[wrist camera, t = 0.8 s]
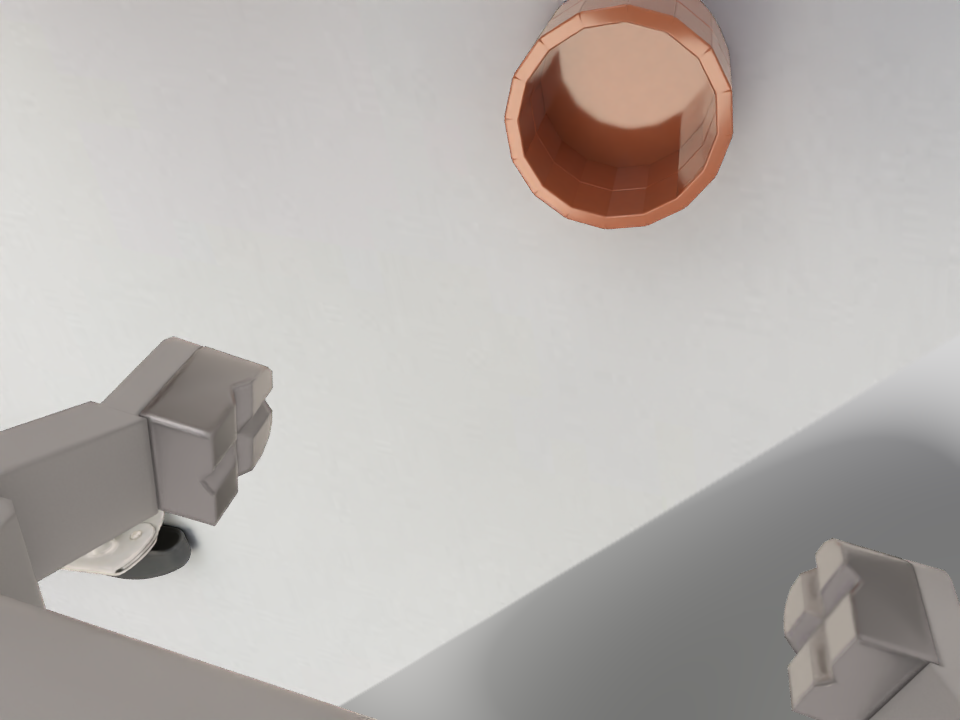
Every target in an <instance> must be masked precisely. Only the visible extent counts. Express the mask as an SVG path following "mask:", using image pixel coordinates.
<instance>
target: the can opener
mask: <svg viewBox="0 0 960 720" xmlns="http://www.w3.org/2000/svg"><path fill="white" fill-rule="evenodd" d="M164 516H165V511H161V510H158V514H156V515H154V516H152V517H150V518H149V519H147V520H145V521H143V522H142V523H140V524H138V525H136V526H135V527H133V528H131V529H129V530H128V531H126V532H124V533H122V534H121V535H119V536H117V537H115V538H114V539H112V540H110V541H108V542H107V543H105V544H103V545H101V546H100V547H98V548H96V549H94V550H93V551H91V552H89V553H87V554H85V555H84V556H82V557H80V558H78V559H77V560H75V561H73V562H71V563H70V564H68V565H66V566H64V567H63V568H61V569H62V570H71V571H78V572H87V573H94V574H102V575H108V576H112V577H117V578H123V579H148V578H153V577H158V576H162V575H165V574H168V573H171V572H173V571H175V570H177V569H179V568H181V567H182V566H184V565H185V564H186V563H187V561H188V560H189V558H190V555H191V549H190V546H189V543H188V541H187V539H186V537H185V535H184V533H183V532H182V530H180V529H178V528H175V527H170V526H161V525H162V523H163V520H164Z"/></svg>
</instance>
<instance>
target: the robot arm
mask: <svg viewBox="0 0 960 720" xmlns="http://www.w3.org/2000/svg"><path fill="white" fill-rule="evenodd" d="M272 388H273V381H272V370H271V369H269V368H268V367H267V366H264V365H261V364H258V363H254V362H251V361H248V360H245V359H242V358H239V357H236V356H233V355H230V354H227V353H224V352H221V351H218V350H215V349H212V348H209V347H206V346H205V347H203V346H200V345H197V344H194V343H192V342H189V341H186V340H183V339H180V338H177V337H174V336H173V337H170V338H168V339H165V340H163V341H162V342H161V343H160V344H159V345H158V346H157V347H156V348H155V349H154V350H153V351H152V352H151V353H150V354H149V355H148V356H147V357H146V358H145V359H144V360H143V361H142V362H141V363H140V364H139V365H138V366H137V367H136V368H135V369H134V370H133V371H132V372H131V373H130V374H129V375H128V376H127V377H126V378H125V379H124V380H123V381H122V382H121V383H120V384H119V385H118V387H117V388H116V389H115V390H114V391H113V392H112V393H111V394H110V395H109V396H108V397H107V398H106V399H105V400H104V401H103V402H102V403H101V404H99V403H95V402H92V401H89V402H86V403H84V404H81V405H78V406H75V407H72V408H69V409H66V410H63V411H60V412H57V413H54V414H51V415H48V416H45V417H42V418H39V419H36V420H33V421H30V422H27V423H24V424H21V425H18V426H15V427H12V428H9V429H6V430H3V431H0V720H377V719H374V718H371V717H368V716H365V715H362V714H359V713H356V712H353V711H350V710H347V709H344V708H341V707H338V706H335V705H332V704H329V703H326V702H323V701H320V700H317V699H314V698H311V697H308V696H305V695H302V694H299V693H296V692H293V691H290V690H287V689H284V688H281V687H278V686H275V685H272V684H269V683H266V682H263V681H260V680H257V679H254V678H251V677H248V676H245V675H242V674H239V673H236V672H233V671H230V670H227V669H224V668H221V667H218V666H215V665H212V664H209V663H206V662H203V661H200V660H197V659H194V658H191V657H188V656H185V655H182V654H179V653H176V652H173V651H170V650H167V649H164V648H161V647H158V646H155V645H152V644H149V643H146V642H143V641H140V640H137V639H134V638H131V637H128V636H125V635H122V634H119V633H116V632H113V631H110V630H107V629H104V628H101V627H98V626H95V625H92V624H89V623H86V622H83V621H80V620H77V619H74V618H71V617H68V616H65V615H62V614H59V613H56V612H53V611H50V610H47V609H46V607H45V604H44V601H43V598H42V595H41V591H40V588H39V585H38V581H40V580H42V579H43V578H45V577H47V576H49V575H50V574H52V573H54V572H56V571H57V570H59V569H61V568H63V567H64V566H66V565H68V564H70V563H71V562H73V561H75V560H77V559H78V558H80V557H82V556H84V555H85V554H87V553H89V552H91V551H93V550H94V549H96V548H98V547H100V546H101V545H103V544H105V543H107V542H108V541H110V540H112V539H114V538H115V537H117V536H119V535H121V534H122V533H124V532H126V531H128V530H129V529H131V528H133V527H135V526H136V525H138V524H140V523H142V522H143V521H145V520H147V519H149V518H150V517H152V516H154V515H156V514H158V510H161V511H165V512H168V513H172V514H175V515H179V516H182V517H186V518H189V519H192V520H196V521H199V522H203V523H206V524H210V525H213V526H215V525H216V524H217V522H218V521H219V519H220V518H221V516H222V515H223V513H224V512H225V510H226V509H227V508H228V506H229V505H230V503H231V502H232V500H233V499H234V497H235V496H236V494H237V493H238V476H240V475H243V474H245V473H247V472H249V471H251V470H253V468H254V467H255V465H256V464H257V462H258V460H259V459H260V457H261V456H262V453H263V451H264V448H265V446H266V443H267V441H268V439H269V435H270V430H271V425H272V410H271V408H270V407H269V405H268V404H267V402H266V401H265V398H266V397H267V396H268V394H269V393H270V391H271V390H272ZM815 557H816V565H817V568H814V569H812V570H808V571H805V572H803V573H800V575H799V576H798V578H797V579H796V581H795V582H794V584H793V585H792V587H791V588H790V591H789V594H788V597H787V601H786V604H785V609H784V621H783V622H784V635H785V638H786V639H787V641H788V643H789V644H790V645H791V647H792V648H793V650H794V651H795V653H796V654H797V655H796V656H795V657H794V659H793V660H792V661H791V662H790V663H789V665H788V666H787V668H788V678H789V688H790V697H791V708H792V711H794V712H797V713H799V714H802V715H805V716H808V717H811V718H814V719H817V720H960V604H959V601H958V598H957V595H956V592H955V589H954V585H953V582H952V580H951V578H950V576H949V575H948V574H947V573H946V572H945V571H944V570H940V569H937V568H934V567H930V566H927V565H924V564H920V563H917V562H913V561H910V560H903V559H902V558H899V557H896V556H892V555H889V554H885V553H882V552H879V551H875V550H872V549H868V548H865V547H861V546H858V545H854V544H851V543H848V542H844V541H841V540H837V539H834V538H831V539H829V540H828V541H826V542H824V543H823V544H822V546H821V547H820V548H819V550H818V551H817V552H816V553H815Z"/></svg>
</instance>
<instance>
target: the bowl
mask: <svg viewBox="0 0 960 720" xmlns="http://www.w3.org/2000/svg"><path fill="white" fill-rule="evenodd" d="M504 117H505V119H504V121H505V127H506V132H507V138H508V143H509V148H510V154H511V158H512V159H513V160H512V161H513V163H514V164H515V166H516V167H517V169H518V171H519V172H520V174H521V175H522V177H523V178H524V180H525V182H526V183H527V185H528V186H529V188H530V190H531V191H532V193H533V194H534V195H535V196H536V197H538V198H539V199H541V200H542V201H543V202H545V203H546V204H547V205H549V206H550V207H551V208H553V209H554V210H555V211H557V212H558V213H560V214H561V215H562V216H564V217H565V218H566V217H567V219H570V220H574V221H577V222H581V223H585V224H588V225H592V226H595V227H599V228H602V229H605V228H606V229H616V228H628V227H641V226H646V225H650V224H652V223H654V222H656V221H658V220H661V219H663V218H665V217H667V216H669V215H671V214H673V213H676V212H678V211H680V210H682V209H684V208H685V207H687V206H688V205H689V204H690V203H691V202H692V201H693V200H694V199H695V198H696V197H697V196H698V195H699V194H700V193H701V192H702V191H703V189H704V188H705V187H706V186H707V185H708V184H709V183H710V182H711V181H712V180H713V179H714V178H715V176H716V175H717V173H718V171H719V168H720V166H721V163H722V161H723V159H724V156H725V154H726V151H727V149H728V146H729V144H730V141H731V139H732V134H733V95H732V81H731V69H730V58H729V51H728V48H727V45H726V43H725V40H724V37H723V35H722V32H721V29H720V27H719V25H718V24H717V22H716V20H715V18H714V16H713V15H712V14H711V12H710V11H709V10H708V9H707V7H706V6H705V5H704V4H703V3H702V2H701V1H700V0H567V1H566V2H565V3H564V4H562V5H561V6H560V7H559V8H558V9H557V11H556V12H555V14H554V15H553V17H552V18H551V20H550V21H549V22H548V24H547V25H546V27H545V28H544V30H543V31H542V33H541V34H540V36H539V37H538V39H537V40H536V42H535V43H534V45H533V46H532V48H531V49H530V51H529V52H528V54H527V55H526V57H525V58H524V60H523V61H522V63H521V64H520V66H519V67H518V69H517V70H516V72H515V73H514V76H513V78H512V83H511V87H510V92H509V97H508V102H507V106H506V111H505V116H504Z"/></svg>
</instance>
